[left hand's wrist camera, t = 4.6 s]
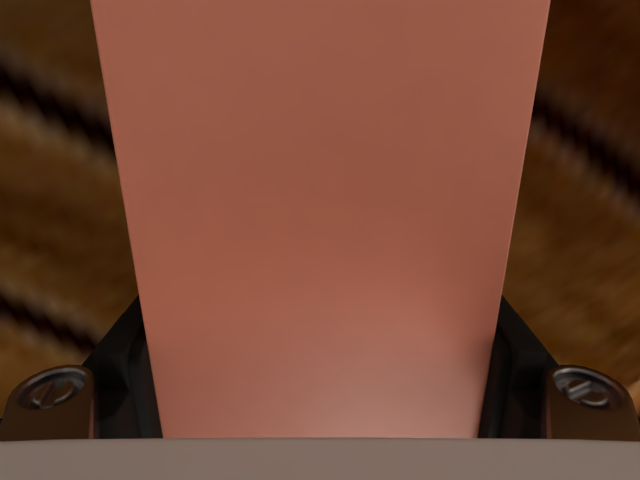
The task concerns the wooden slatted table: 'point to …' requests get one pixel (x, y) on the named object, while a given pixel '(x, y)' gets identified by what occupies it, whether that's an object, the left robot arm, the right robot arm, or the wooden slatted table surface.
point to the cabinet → (320, 205)
